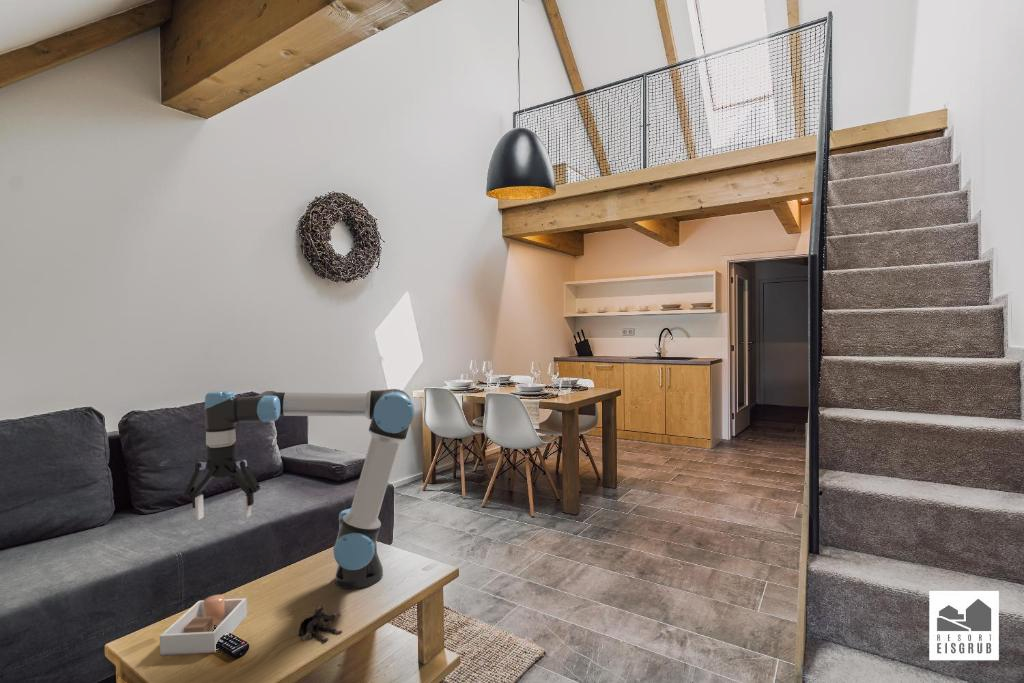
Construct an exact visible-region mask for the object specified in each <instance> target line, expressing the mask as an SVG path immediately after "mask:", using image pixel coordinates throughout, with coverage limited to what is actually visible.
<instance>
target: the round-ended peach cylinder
mask: <svg viewBox="0 0 1024 683" xmlns="http://www.w3.org/2000/svg"><path fill="white" fill-rule="evenodd" d="M224 599H225V596H224V595H223V594H215V595H214V594H213V595H211V596H208V597H206V598H205V599H203V600H204V617H213V616H214V625H219V624H220V623H221V622H222V621H223V620H224V619H225V605H224Z"/></svg>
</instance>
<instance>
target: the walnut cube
mask: <svg viewBox="0 0 1024 683" xmlns="http://www.w3.org/2000/svg"><path fill="white" fill-rule="evenodd" d="M213 630H214V616H213V617H197V618H194V619H193V620H192V621H191V622H190V623H189V624H188V625H187V626H186V627H185V628H184V633H194V632H212V631H213Z"/></svg>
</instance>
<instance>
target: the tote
mask: <svg viewBox="0 0 1024 683" xmlns="http://www.w3.org/2000/svg"><path fill="white" fill-rule="evenodd" d="M204 600H205V599H203V600H198V601H197V602H195V604H194V605H192V606H191V607H190V608H189V609H188V610H187V611H186V612H185V613H183V614H182V615H181V616H180V617H179V618H178V619H177V620H176V621H175V622H174V623H172V624H171V625H170V626H169V627H168V628H167V629H166V630H165V631H163V633H161V634H160V635H159V651H160V652H159V653H160V655H159V656H173V655H174V656H175V655H193V654H196V655H198V654H212V653H216V652H217V651H216V650H218V649H216V644H217V642H218V640H219V639H220V638H221V637H222V636H223V635H224V634H225V633H227V632H228V633H231V634H233V633H234V631H235V630H236V629H237V628H238V626H240V624H241V623H243V621H244V620H245V619H246V618H247V616H248V598H247V597H245V598H224V605H225V619H224V620H223V621H222V622H221V623H220V624H219V625H218V626H217V627H216V629H215V630H214V631H213V632H194V633H184V628H185V627H186V626H187V625H188V624H189V623H190V622H191V621H192V620H193V619H194V618H197V617H204Z"/></svg>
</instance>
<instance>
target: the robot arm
mask: <svg viewBox="0 0 1024 683" xmlns="http://www.w3.org/2000/svg"><path fill="white" fill-rule="evenodd" d="M204 396H205V397H204V416H205V417H204V418H205V419H204V420H205V445H206V446H207V447H206V448H205V449H206V450H205V451H206V459H207V460H206V461H204V460H201V461H199V462H196V463H195V464H194V465H195V468H194V472H193V474H192V476H191V479H190V480H189V483H188V484H187V487H186V489H185V492H184V496H188V497H189V496H190V497H191V498H192V499H191V501H192V508H193V509H195V521H200V520H201V519H203V518H204V517H205V513H204V512H205V510H204V494H202V492H203V491H204V489H205V488H206V487H207V485H208V484H209V483H210V482H211V481H212V479H213V478H215V479H216V478H228V477H229V479H231V480H233V482H234V483H235V484H236V485H237V486H238V488H240V489H241V490H242V491H243V492H244V493H245V494H244V495H243V519H248V518H249V517H250V516H252V505H254V503H255V500H254V499H255V498H254V493H257V492H258V491H260V490H261V486H260V484H259V483H258V481H257V479H256V477H255V475H254V473H253V472H252V470H251V468H250V467H249V466H250V465H249V461H248V459H243V460H239V461H238V460H237V444H236V443H235V442H236V441H237V439H236V438H237V437H236V436H237V434H236V424H243V423H246V424H247V423H261V422H264V423H267V422H274V421H275V422H276V421H277V420H279V418H280V417H285V416H286V417H289V416H291V417H292V416H294V417H295V416H296V417H366V418H367V420H371V421H370V423H369V427H368V432H369V434H370V435H371V439H370V441H369V445H368V449H367V453H366V454H365V455H366V456H365V459H364V463H363V467H362V469H361V472H360V476H359V479H358V482H357V486H356V490H355V494H354V497H353V499H352V503H351V507H350V508H348V509H347V508H346V509H344V510H342V511H340V512H339V514H338V522H339V524H338V527H339V528H338V533H337V537H336V540H335V542H334V546H333V557H334V561H335V562H336V563H337V568H336V571H335V577H334V578H335V584H336V586H338V587H339V588H341V589H342V588H343V589H347V590H354V589H355V590H356V589H361V588H366V587H369V586H372V585H375V584H377V582H379V581H380V580H382V578H383V577H384V567H383V565H382V562H381V560H380V557H379V555H378V550H377V548H378V547H377V543H378V542H377V540H378V536H379V534H380V533H379V532H380V529H381V527H382V526H381V525H382V522H381V520H380V519H379V514H380V512H381V508H382V504H383V501H384V497H385V494H386V490H387V488H388V483H389V481H390V476H391V472H392V470H393V466H394V462H395V461H396V460H395V459H396V455H397V452H398V449H399V446H400V443H402V442H403V441H406V439H407V435H408V432H409V429H410V425H411V424H412V422H413V419H414V416H415V407H414V403H413V401H412V399H411V397H410V396H409V394H408V393H407V392H405V391H404V390H401V389H399V388H397V389H396V388H389V389H382V390H381V389H380V390H376V389H375V390H368V391H367V393H358V392H356V393H353V392H347V393H346V392H344V393H343V392H295V391H294V392H292V391H291V392H290V391H289V392H288V391H286V392H282V391H281V392H279V391H278V392H277V391H274V390H267V391H264V392H261V393H260V394H258V395H256V396H246V397H245V396H243V397H240V396H239V397H238V396H236V395H235V392H234V391H232V390H217V391H210V392H207V393H206V394H205V395H204ZM237 467H238V468H239V469H240V471H241V473H242V475H243V476H242V475H241V474H240V472H239V470H237ZM205 469H206V470H208V472H207V474H206V475H205V476H204V478H203V479H202V480H201V479H200V478H201V476H202V475H203V472H204V470H205ZM199 480H201V482H200V483H199Z"/></svg>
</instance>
